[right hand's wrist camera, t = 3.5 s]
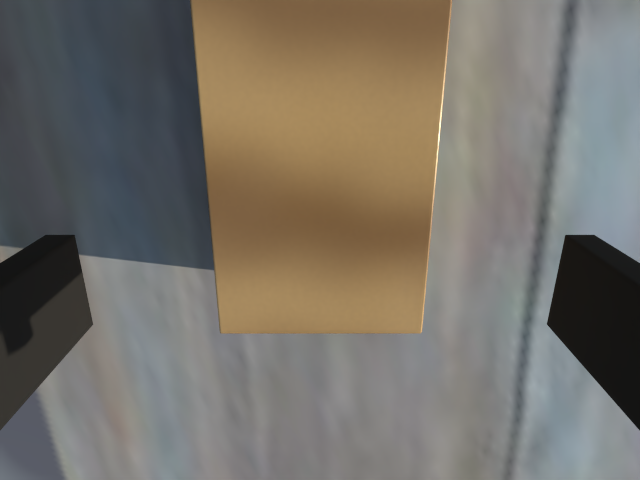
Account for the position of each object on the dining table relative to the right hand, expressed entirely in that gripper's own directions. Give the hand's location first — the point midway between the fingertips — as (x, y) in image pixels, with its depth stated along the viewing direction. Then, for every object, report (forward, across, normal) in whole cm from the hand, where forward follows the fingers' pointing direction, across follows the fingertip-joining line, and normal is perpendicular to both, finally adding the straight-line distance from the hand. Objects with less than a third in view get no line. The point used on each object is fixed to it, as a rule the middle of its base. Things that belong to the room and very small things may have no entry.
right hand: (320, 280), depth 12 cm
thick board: (+14, 0, -25) cm, 29 cm away
